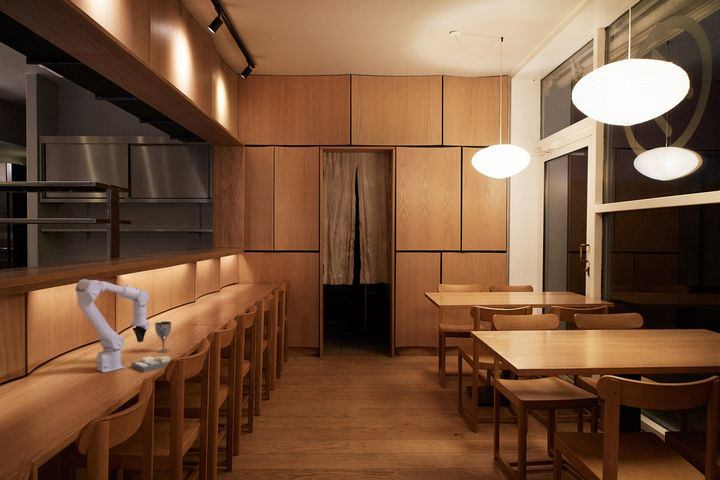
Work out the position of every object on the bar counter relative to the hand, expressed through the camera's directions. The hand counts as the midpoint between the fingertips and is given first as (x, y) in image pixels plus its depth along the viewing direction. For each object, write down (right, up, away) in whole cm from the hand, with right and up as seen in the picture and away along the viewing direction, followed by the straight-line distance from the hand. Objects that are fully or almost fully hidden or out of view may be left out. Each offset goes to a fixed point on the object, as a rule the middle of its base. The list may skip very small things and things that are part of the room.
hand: (140, 341), depth 222 cm
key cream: (+7, -8, -7) cm, 13 cm away
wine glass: (+4, -9, +18) cm, 20 cm away
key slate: (+11, -9, -11) cm, 18 cm away
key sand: (+15, -8, -7) cm, 18 cm away
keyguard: (+10, -10, -8) cm, 16 cm away
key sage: (+10, -9, -3) cm, 14 cm away
